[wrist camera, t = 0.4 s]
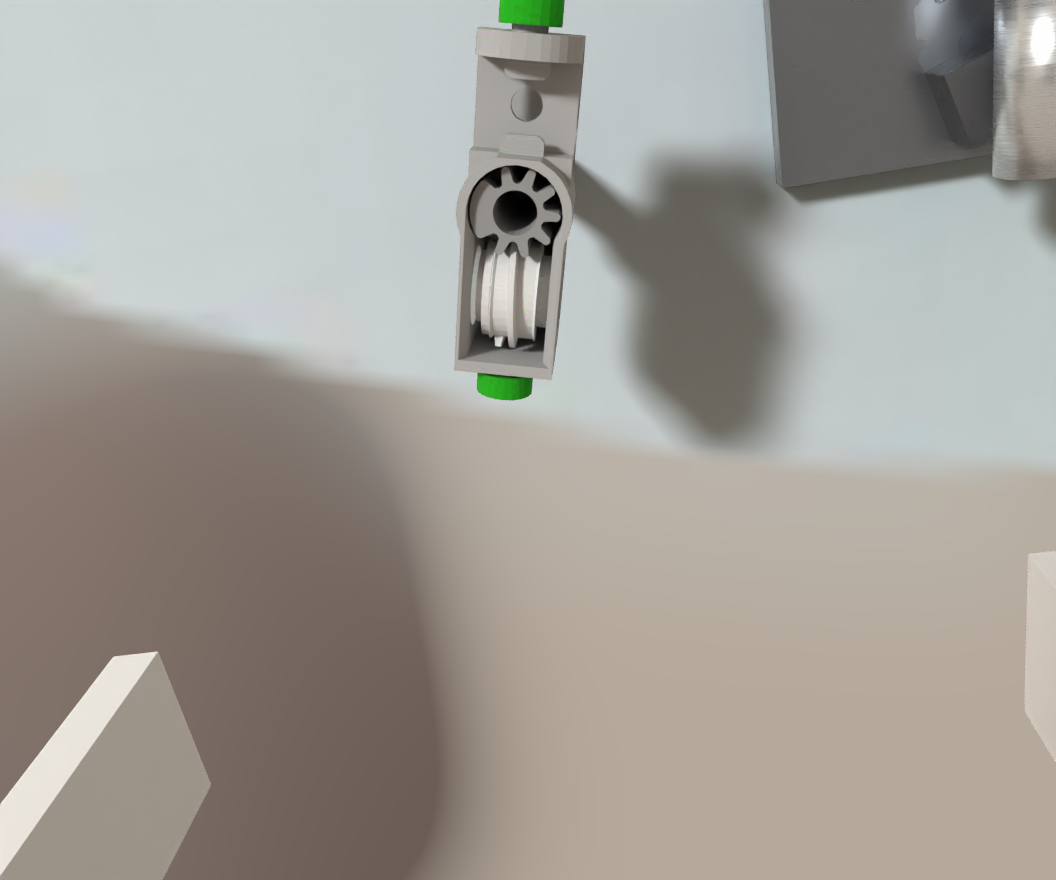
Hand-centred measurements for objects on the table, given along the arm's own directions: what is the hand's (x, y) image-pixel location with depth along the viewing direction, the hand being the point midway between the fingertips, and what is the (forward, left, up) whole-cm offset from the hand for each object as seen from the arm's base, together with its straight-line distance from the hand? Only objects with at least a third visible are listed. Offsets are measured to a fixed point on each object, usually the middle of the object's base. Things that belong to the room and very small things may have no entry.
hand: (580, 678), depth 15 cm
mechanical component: (-5, -1, -23) cm, 23 cm away
